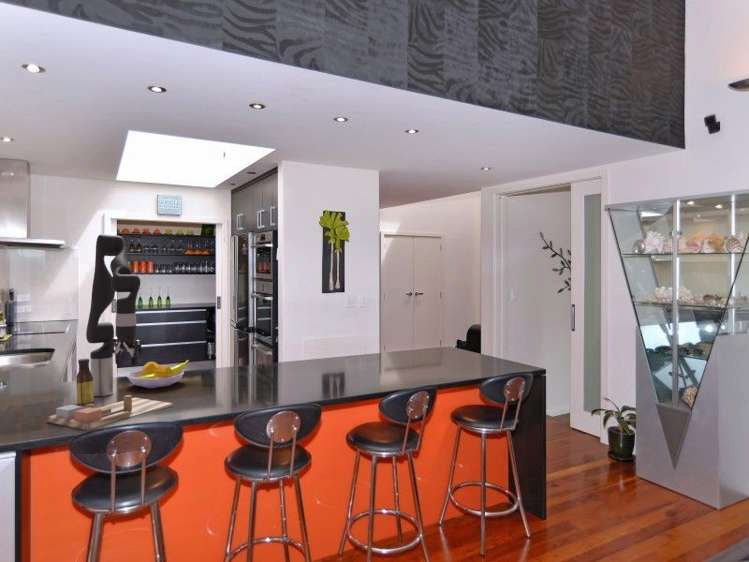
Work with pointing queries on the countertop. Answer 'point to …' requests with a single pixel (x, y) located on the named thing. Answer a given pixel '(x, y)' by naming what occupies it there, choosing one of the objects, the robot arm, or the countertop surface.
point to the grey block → (70, 411)
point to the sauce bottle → (84, 383)
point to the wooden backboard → (137, 408)
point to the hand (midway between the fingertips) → (126, 365)
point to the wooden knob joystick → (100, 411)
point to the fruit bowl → (157, 375)
